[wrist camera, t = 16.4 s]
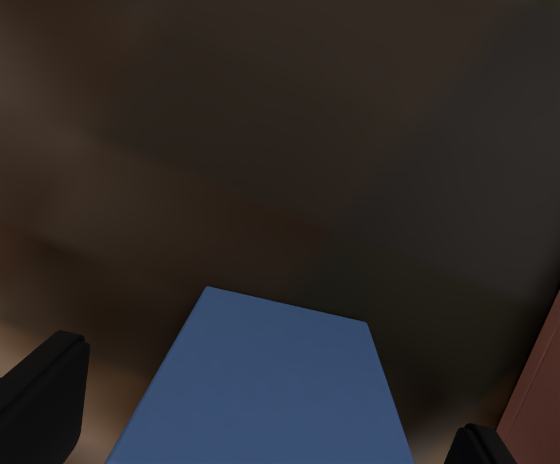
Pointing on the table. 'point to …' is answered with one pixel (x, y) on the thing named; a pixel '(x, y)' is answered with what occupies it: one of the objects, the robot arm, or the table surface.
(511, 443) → the rose tray
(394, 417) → the blue block
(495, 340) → the table surface
